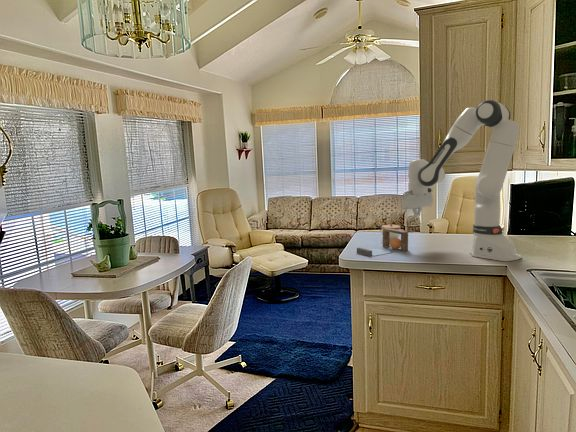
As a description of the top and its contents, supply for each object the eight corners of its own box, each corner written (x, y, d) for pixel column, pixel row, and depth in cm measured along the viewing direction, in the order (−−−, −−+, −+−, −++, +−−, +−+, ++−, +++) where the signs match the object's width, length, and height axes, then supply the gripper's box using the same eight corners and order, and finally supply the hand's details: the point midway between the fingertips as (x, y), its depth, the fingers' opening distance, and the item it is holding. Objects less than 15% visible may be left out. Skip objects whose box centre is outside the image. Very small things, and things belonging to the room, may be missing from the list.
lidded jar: (393, 242, 242) (393, 225, 241) (377, 239, 250) (377, 223, 249) (404, 239, 249) (404, 223, 248) (388, 236, 257) (389, 221, 256)
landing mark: (392, 252, 218) (392, 252, 218) (374, 256, 212) (374, 255, 211) (375, 248, 228) (375, 248, 228) (357, 251, 222) (357, 251, 222)
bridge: (386, 245, 234) (386, 227, 233) (407, 250, 221) (408, 231, 220) (382, 246, 232) (382, 228, 231) (403, 251, 220) (403, 232, 218)
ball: (397, 246, 220) (402, 251, 224) (399, 235, 222) (404, 240, 226) (386, 246, 224) (391, 250, 228) (389, 235, 226) (393, 240, 230)
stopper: (372, 255, 213) (372, 250, 212) (368, 256, 212) (368, 251, 211) (359, 252, 220) (359, 247, 220) (356, 252, 219) (356, 247, 219)
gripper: (407, 191, 222) (407, 218, 224) (434, 188, 233) (434, 214, 235) (398, 191, 227) (398, 217, 229) (425, 188, 238) (425, 213, 240)
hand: (417, 215), depth 232 cm, fingers closed
